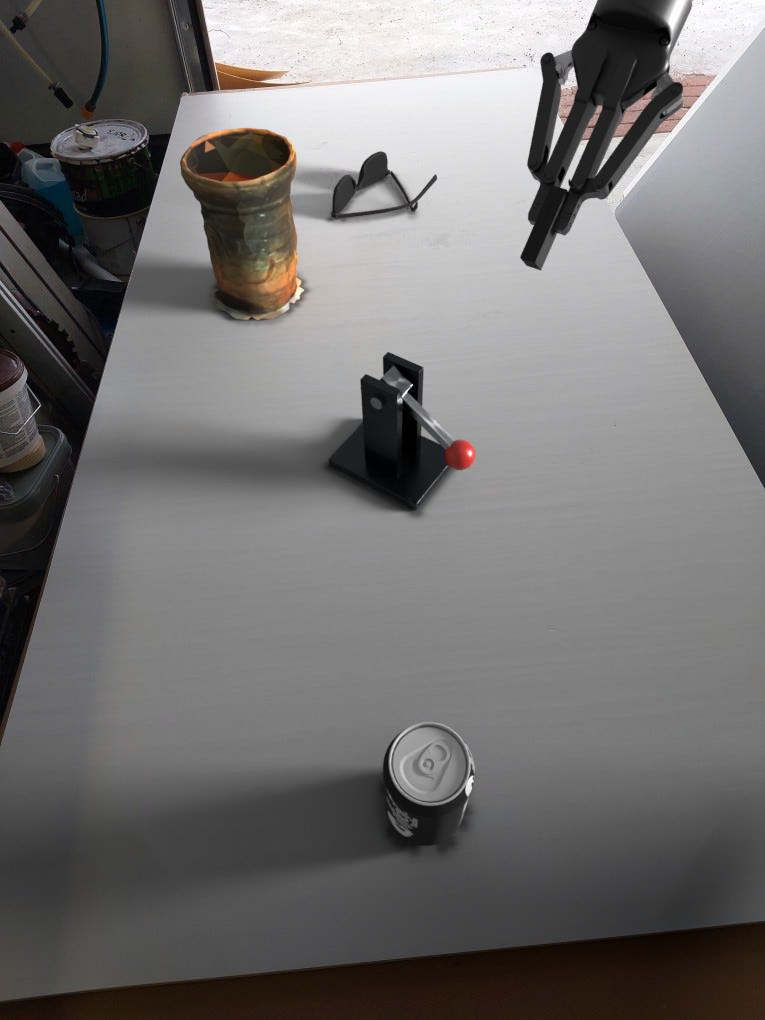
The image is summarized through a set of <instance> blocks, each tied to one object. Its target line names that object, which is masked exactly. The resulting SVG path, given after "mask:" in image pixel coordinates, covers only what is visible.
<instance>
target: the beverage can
mask: <svg viewBox="0 0 765 1020" xmlns="http://www.w3.org/2000/svg"><path fill="white" fill-rule="evenodd" d="M382 762H383V763H382V778H383V792H384V795H383V796H384V808H385V809H384V810H385V814H386V817H387V820H388V822H389V824H390V826H391V828H392V829H393V830H394V832H396V834H398V836H399V837H401V838H402V839H403V840H405V841H406V842H408V843H411V844H413V845H417V846H423V847H430V846H437V845H439V844H442V843H444V842H445V841H447V840H449V838H451V837H452V836H453V835H454V834H455V833H456V832H457V830H458V829H459V827H460V825H461V823H462V821H463V819H464V816H465V815H464V814H465V811H466V809H467V805H468V802H469V799H470V796H471V792H472V789H473V786H474V783H475V775H476V771H475V770H476V769H475V768H476V767H475V762H474V758H473V755H472V753H471V749H470V748H469V747H468V745H467V744H466V742H465V741H464V739H462V737H461V736H460V735H459V734H458V733H457V732H456V731H454V729H452V728H451V727H449V726H447V725H444V724H443V723H440V722H435V721H434V722H433V721H423V722H416V723H415V724H412V725H409V726H408V727H406V728H404V729H403V730H401V731H400V732H399V733H398V734H396V736H395V737H394V738H393V739H392V740H391V741H390V743H389V745H388V746H387V748H386V751H385V753H384V757H383V761H382Z"/></svg>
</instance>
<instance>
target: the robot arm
mask: <svg viewBox="0 0 765 1020" xmlns="http://www.w3.org/2000/svg"><path fill="white" fill-rule="evenodd" d="M693 1H694V0H596V3H595V5H594V7H593V9H592V13H591V14H590V16H589V19H588V22H587V25H586V28H585V30H584V31H583V33H582V34H581V35H580V36H579V37H578V38H577V39H576V40H575V41H574V43H573V45H572V47H571V49H570V50H567V51H565V52H562V53H560V54H558V55H555V56H554V54H553V53H552V52H550V51H549V52H548V51H547V52H546V53H544V54H542V56H541V57H540V61H539V63H540V70H541V76H542V77H541V78H542V85H541V90H540V95H539V100H538V105H537V111H536V116H535V121H534V126H533V131H532V137H531V141H530V146H529V147H530V148H529V152H528V158H527V163H526V166H527V168H528V171H529V173H530V174H531V176H532V178H533V180H535V181H537V182H538V183H539V186H538V189H537V192H536V194H535V197H534V199H533V200H532V202H531V203H532V204H531V206H530V208H529V210H528V212H527V221H528V222H529V224H530V225H532V228H531V231H530V233H529V235H528V237H527V240H526V243H525V245H524V247H523V249H522V252H521V254H520V257H519V258H520V259H521V261H522V262H523V263H524V265H525V266H526V267H529V268H532V269H535V270H538V271H542V269H543V267H544V264H545V262H546V260H547V258H548V255H549V254H550V251H551V249H552V246H553V244H554V242H555V240H556V238H557V236H558V234H559V235H562V236H566V235H568V233H570V231H571V229H572V227H573V225H574V222H575V220H576V218H577V217H578V214H579V211H580V210H581V209H580V208H581V207H582V205H583V203H584V202H585V201H587V200H589V199H598V200H605V199H607V198H608V197H609V195H610V194H611V193H612V192H613V190H614V189H615V187H616V186H617V185H618V183H619V182H620V181H621V179H622V178H623V177H624V175H625V174H626V173H627V171H628V170H629V169H630V167H631V166H632V164H633V162H634V161H635V160H636V159H637V157H638V156H639V155H640V153H641V152H642V151H643V149H644V148H645V146H646V145H647V144H648V142H649V141H650V140H651V138H652V137H653V135H654V134H655V133H656V132H657V130H658V129H659V127H660V126H661V124H663V123H664V122H665V121H666V120H668V119H669V118H670V117H671V116H673V115H674V114H675V113H677V112H678V111H679V110H681V108H682V107H683V105H684V86H683V83H681V82H680V81H674V79H673V78H672V77H671V75H670V69H671V65H670V60H671V55H672V53H673V51H674V48H675V46H676V44H677V42H678V40H679V37H680V35H681V33H682V31H683V28H684V27H685V24H686V22H687V19H688V18H689V15H690V13H691V11H692V7H693ZM572 69H573V70H574V71H573V72H574V76H575V81H576V85H577V90H576V91H575V94H574V100H573V104H572V106H571V108H570V110H569V113H568V115H567V118H566V120H565V122H564V124H563V127H562V129H561V131H560V134H559V136H558V138H557V141H556V143H555V144H554V148H553V150H552V152H551V149H552V144H553V140H554V134H555V130H556V129H555V128H556V123H557V119H558V114H559V107H560V103H561V98H562V86H563V85H565V84H566V82H567V80H568V78H569V73H570V71H571V70H572ZM651 92H652V93H651ZM649 93H651V95H650V101H649V102H648V103H647V104H646V106H645V107H644V108H643V109H642V111H641V112H640V114H639V115H638V116H637V118H636V119H635V121H633V123H632V124H631V126H630V128H629V129H628V131H627V132H626V133H625V135H624V136H623V137H622V139H621V140H620V141H619V142H618V144H617V146H616V147H615V149H614V150H613V151H612V153H611V154H610V156H608V158H607V159H606V161H605V163H604V164H603V161H604V158H605V156H606V154H607V152H608V150H609V147H610V146H611V143H612V141H613V139H614V136H615V134H616V132H617V130H618V127H619V126H620V125H621V124H622V121H623V119H624V117H625V115H626V113H627V111H628V108H631V107H632V106H633V105H634V104H636V103H638V102H639V101H640V100H642V99H643V98H644V97H645V96H646V95H649ZM601 106H602V107H601ZM598 107H601V110H600V113H599V115H598V116H597V120H596V122H595V124H594V127H593V129H592V131H591V133H590V136H589V138H588V141H587V143H586V144H585V146H584V147H585V148H584V150H583V152H582V154H581V157H580V159H579V160H578V163H577V165H576V168H575V171H574V173H573V175H572V177H571V179H570V178H568V181H567V182H568V186H569V188H568V189H567V188H563V187H562V185H563V182H564V181H565V178H566V176H567V173H568V171H569V169H570V167H571V164H572V162H573V160H574V157H575V155H576V153H577V151H578V148H579V146H580V144H581V142H582V139H583V137H584V135H585V133H586V130H587V129H588V126H589V124H590V121H591V120H592V119H593V118H594V116H595V114H596V111H597V110H598ZM550 154H551V155H550ZM602 164H603V165H602ZM601 166H602V167H601ZM600 168H601V169H600Z"/></svg>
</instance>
